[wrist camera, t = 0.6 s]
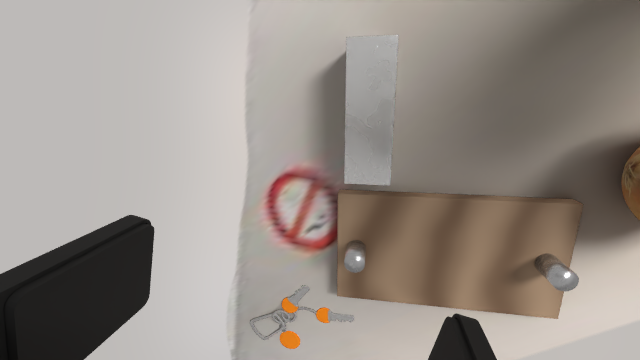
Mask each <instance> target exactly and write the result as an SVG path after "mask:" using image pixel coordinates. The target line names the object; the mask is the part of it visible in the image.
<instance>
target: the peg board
mask: <svg viewBox="0 0 640 360" xmlns="http://www.w3.org/2000/svg"><path fill="white" fill-rule="evenodd" d="M583 205H584V204H582V203H580V202H578V201H576V200H574V199H558V198H533V197H509V196H485V195H460V194H436V193H412V192H387V191H363V190H339V192H338V252H337V296H342V297H351V298H361V299H371V300H380V301H390V302H400V303H409V304H419V305H429V306H438V307H448V308H458V309H467V310H477V311H486V312H496V313H506V314H515V315H525V316H535V317H544V318H554V319H558V315H559V311H560V307H561V302H562V298H563V293H564V291H570V290H572V289H574V288H575V287H576V286H577V285H578V282H579V278H578V276H577V275H576V274H575V273H574V272H573V271H572V270H571V269H569V267H570V262H571V258H572V254H573V249H574V245H575V240H576V236H577V231H578V227H579V223H580V218H581V214H582V209H583Z"/></svg>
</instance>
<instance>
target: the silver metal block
mask: <svg viewBox="0 0 640 360" xmlns="http://www.w3.org/2000/svg"><path fill="white" fill-rule="evenodd" d="M398 37H399V35H382V36H359V37H346V100H345V168H344V184H367V185H390V181H391V163H392V145H393V127H394V109H395V91H396V73H397V55H398Z"/></svg>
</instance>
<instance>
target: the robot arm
mask: <svg viewBox="0 0 640 360" xmlns="http://www.w3.org/2000/svg"><path fill="white" fill-rule="evenodd" d="M153 240H154V227H153V226H151V222H150V221H149V220H147V219H144V218H141V217H138V216H134V215H129V216H126V217H124V218H121V219H119V220H117V221H115V222H113V223H111V224H108V225H106V226H104V227H102V228H100V229H97V230H95V231H93V232H91V233H89V234H87V235H84V236H82V237H80V238H78V239H76V240H74V241H72V242H69V243H67V244H65V245H63V246H61V247H58V248H56V249H54V250H52V251H50V252H48V253H45V254H43V255H41V256H39V257H37V258H34V259H32V260H30V261H28V262H26V263H24V264H21V265H19V266H17V267H15V268H13V269H11V270H9V271H6V272H5V273H2V274H0V360H84V359H85V358H86V357H87V356H88V355H89V354H91V353H92V352H93V351H94V350H95V349H96V348H97V347H98V346H100V345H101V344H102V343H103V342H104V341H105V340H106V339H107V338H108V337H110V336H111V335H112V334H113V333H114V332H115V331H116V330H118V329H119V328H120V327H121V326H122V325H123V324H124V323H126V322H127V321H128V320H129V319H130V318H131V317H132V316H133V315H135V314H136V313H137V312H138V311H139V310H140V309H141V308H142V307H143V306H144V305H145V304H146V302H147V300H148V298H149V294H150V281H151V267H152V253H153ZM428 360H497V359H496V357H495V355H494V353H493V351H492V348H491V346H490V344H489V342H488V340H487V338H486V336H485V334H484V332H483V330H482V328H481V326H480V324H479V322H478V321H477V320H476V319H473V318H469V317H466V316H463V315H459V314H454V315H453V316H452V317H447V318H446V319H445V321H444V323H443V325H442V328H441V330H440V332H439V335H438V337H437V340H436V342H435V344H434V347H433V349H432V351H431V354H430V356H429V358H428Z"/></svg>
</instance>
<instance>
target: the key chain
mask: <svg viewBox="0 0 640 360" xmlns="http://www.w3.org/2000/svg"><path fill="white" fill-rule="evenodd" d="M301 287H302V288H301V289H299V290H298V292H297V291H296V293H295V295H293V296H291V298H288V297H286V298H285V299H284V300H283V302H282V308H283V309H284V310H276V311H275V312H274V313H271V314H268V315H264V316H261V317H258V318H254V319H252V320H251V321H250V324H251V327H252V329H253V330H254V332H255V333H256V334H257V335H258V336H259V337H260V338H262V339H263V340H267V339H269V337H271V336H273V335H274V334H276V333H277V332H279V331H280V330H283V329H285V331H282V332H283V333H282V334H281V335H280V341H281V343H282V345H283V346H285V347H286V348H290V349H295V348H297V347H298V346H299V345H300V338H299V336H298V335H297V334H296V333H294V332H292V331H286V328H285V327H286V326H285V324H284V323H287V322H293V321H294V320H295V319H296V316H297V315H296V311H297V310H303V309H304V310H309V311H311V312H313V313H315V314H316V316H317V319H318V320H319V321H320V322H323V323H329V321H331V320H332V321H334V320H335V321H336V319H337V320H338V321H340V322H342V320H344V322H346V321H349V322H351V321H353V320H354V316H352V315H343V314H335V313H332V312H331V311H330V310H329V309H327V308H320V309H319V310H317V312H315V310H313V309H312V310H311V308H307V307H304V308H303V307H300V308H299V307H298V303H297V302H298V301H299V300H300V299H301V298H302V297H303V296H304V295H305V294H306V293H307V291H308V290H309V287H308V286H306V285H304V286H303V285H302V286H301ZM277 313H282V318H283V319H284V320H285V321H282V319H281V318H280V317H279V315H278V314H277ZM289 313H294V318H293V319H292V320H290V315H289ZM284 314H286V315H287V317H288V318H287V319H286V318H285V317H284ZM268 317H272V318H273V320H274V321H275V322H277V323H279V324H282V325H280V326H282V327H280V326H279V327H280V329H278V330H277V331H275V332H274V333H272V334H271V335H269V336H266V337H264V336H262V335H261V334H260V333H259V332H258V331H257V329H256V328H255V326H254V324H253V322H255V321H258V320H261V319H264V318H268ZM275 317H276V318H277V319H278V320H277V319H276V318H275Z"/></svg>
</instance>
